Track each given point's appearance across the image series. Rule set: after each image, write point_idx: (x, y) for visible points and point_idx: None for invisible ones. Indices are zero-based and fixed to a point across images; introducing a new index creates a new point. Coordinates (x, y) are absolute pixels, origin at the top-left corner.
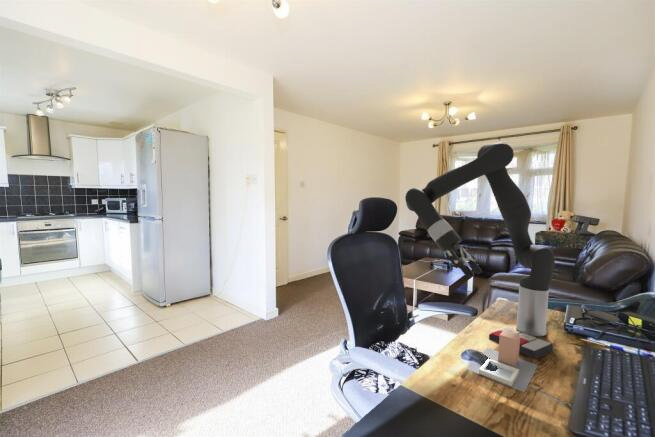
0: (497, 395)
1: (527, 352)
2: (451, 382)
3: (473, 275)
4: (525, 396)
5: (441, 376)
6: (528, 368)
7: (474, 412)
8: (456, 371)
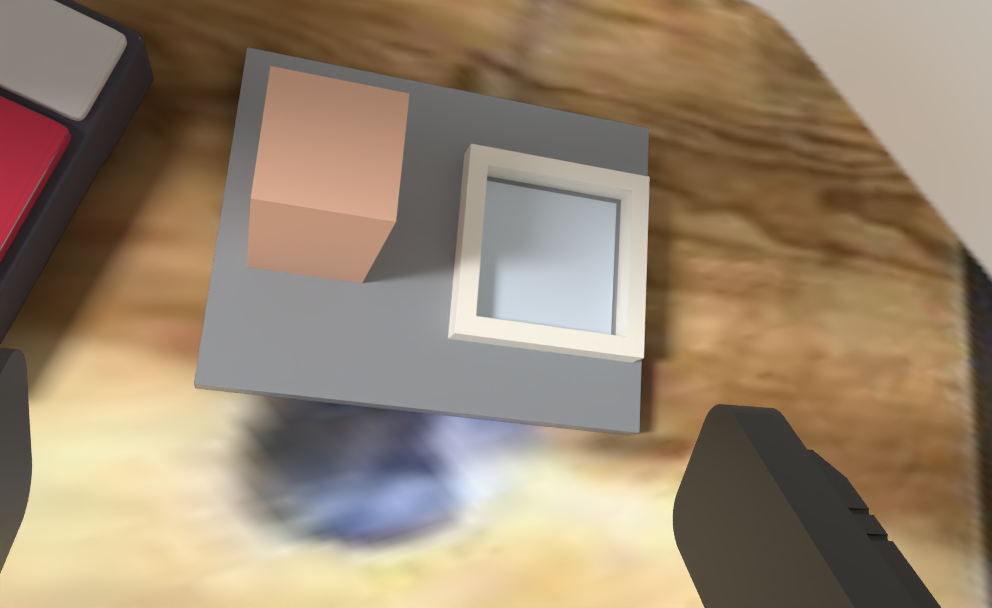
0: (719, 252)
1: (126, 94)
2: None
3: (766, 409)
4: None
5: None
6: None
7: (914, 324)
8: (651, 497)
